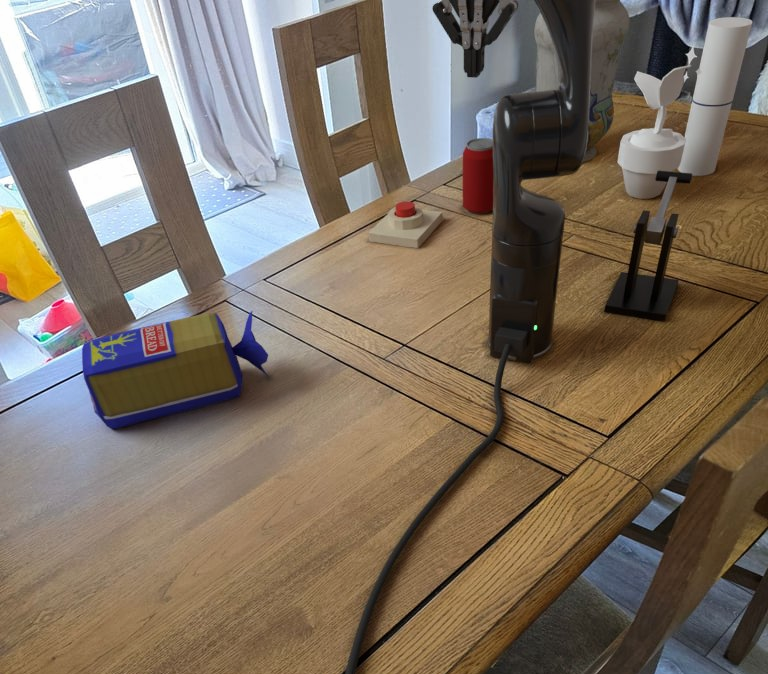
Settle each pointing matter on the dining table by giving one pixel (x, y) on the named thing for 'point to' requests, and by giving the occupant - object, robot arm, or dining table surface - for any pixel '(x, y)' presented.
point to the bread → (166, 368)
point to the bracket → (645, 279)
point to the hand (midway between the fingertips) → (474, 75)
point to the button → (405, 209)
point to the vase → (605, 53)
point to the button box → (406, 228)
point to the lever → (664, 204)
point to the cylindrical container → (714, 93)
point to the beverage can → (478, 176)
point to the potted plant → (653, 136)
